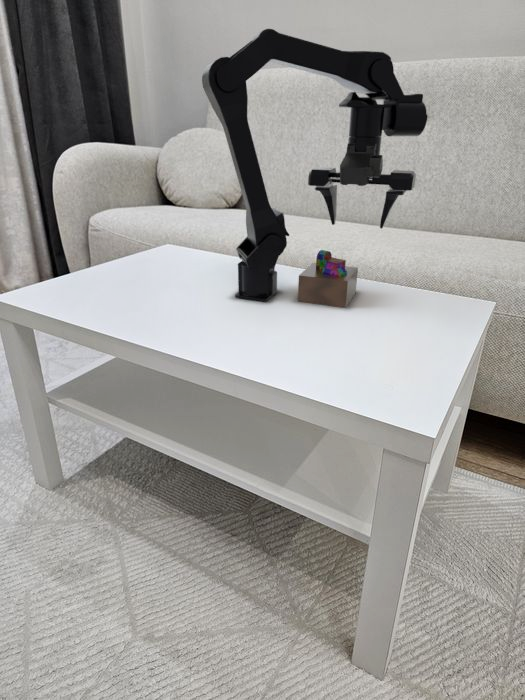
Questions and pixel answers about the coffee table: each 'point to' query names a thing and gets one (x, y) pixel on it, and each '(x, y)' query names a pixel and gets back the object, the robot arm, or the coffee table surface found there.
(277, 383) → the coffee table surface
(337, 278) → the walnut block
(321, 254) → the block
